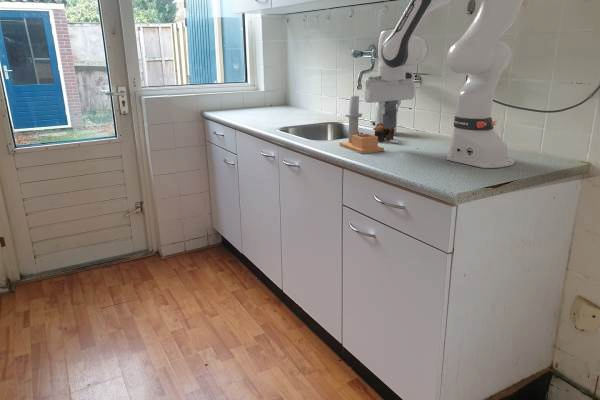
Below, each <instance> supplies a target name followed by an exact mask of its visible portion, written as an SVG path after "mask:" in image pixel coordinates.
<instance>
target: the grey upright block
mask: <svg viewBox="0 0 600 400" xmlns="http://www.w3.org/2000/svg"><path fill="white" fill-rule="evenodd" d="M384 107H385V109H387V114H383V127H385V128H392V127H396V100H393V101H385V105H384ZM396 128H397V127H396Z"/></svg>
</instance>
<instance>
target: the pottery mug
mask: <svg viewBox="0 0 600 400" xmlns="http://www.w3.org/2000/svg"><path fill="white" fill-rule="evenodd" d="M372 131H374V134H373V135H374V136H378V142H380V143H384V142H385V140H386V141H387V142H389V141H390V140H394V136H395V134H394V127H392V128H385V127H383V123H379V124H377V125H376V127H375V126H374V128H373V130H372Z"/></svg>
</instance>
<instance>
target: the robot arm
mask: <svg viewBox="0 0 600 400" xmlns="http://www.w3.org/2000/svg"><path fill="white" fill-rule="evenodd" d="M452 1H453V0H410V2H409V3H408V5H407V6H406V9H405V10H404V12H403V14H402V16H401V17H400V19H399V21H398V22H397V24H396V26H395V27H391V28H386V29H385V30H382V31H381V33H380V35H379V38H378V47H377V49H378V50H377V56H378V66H377V75H375V76H373V75H371V76H369V77H368V78H367V79H366V80H365V89H364V90H365V91H364V101H365V102H366V103H367V104H368V103H371V104H372V103H377V102H379V106H380V108H381V114H387V109H385V107H384V105H385V101H393V100H396V113H397V114H398V112H399V108H400V106H401V103H402V101H405V100H406V101H407V100H413V99H414V98H415V95H416V94H415V93H416V91H415V88H416V86H415V85H416V84H415V81H414V79H415V74H414V73H413V72H410V71H408V70H404V69H403V67H405V66H416V65H419V64H421V63H423V62H424V61H425V59H426V58H427V57H428V51H429V50H428V49H429V48H428V44H427V41H426V40H425V39H424V38H422V37H420V36H416V35H415V32H416V31H417V29H418V28H419V26H420V24H421V22H422V20H423V19H424V18H425V16H426V15H428V14H429V13H430V12H432V11H434V10H435V9H437V8H440V7H442V6H444V5H447V4H449V3H450V2H452ZM523 2H524V0H482V1H481V4H480V6H479V9H478V11H477V14H476V15H475V17H474V19H473V21H472V22H471V24H470V25H469V26H468V28H467V30H466V31H465V33H464V34H463V35H462V36H461V37H460V39H459V40H458V41H456V42H455V43H454V44H452V45H451V46H450V48H449V49H448V51H447V54H446V64H447V66H448V68H449V69H450V71H452V72H453V73H456V74H458V75H463V76H467V80H466V82H465V83H464V85H463V87H461V89H460V90H459V92H458V94H457V102H456V113H455V116H454V117H453V118H454V120H453V127H454V129H453V132H452V137H451V140H450V146H449V149H448V153H447V155H446V160H447V161H450V162H454V163H458V164H459V163H461V164H465V165H470V166H474V167H478V168H482V169H494V168H495V169H498V168H504V167H505V168H506V167H509V166H512V165H514V164H515V160H514V159H511V158H510V157H509V158H508V156H509V155H508V151H509V149H508V145H507V143H506V142H505V141H504V140H503V139H502V138H501V137H500V136H499V134H498V133H497V132H496V130H494V129H495V128H494V126H496V125H497V122H498V121H497V120H494V121H493V119H492V116H491V115H492V108H493V104H494V103H493V101H494V96H495V92H496V88H497V85H498V83H499V81H500V78H501V75H502V73H503V72H504V71H505V69H506V68H507V66H509V64H510V63H511V60H512V55H513V53H512V48H511V47H510V45H509V44H508V43H506V42H504V41H502V40H499V39H500V38H502V36H503V34H504V33H505V32H507V30H508V29H509V30H510V28H511V27H512V26H513V24H514V23H515V21H516V18H517V15H518V14H519V11H520V9H521V6H522V4H523Z"/></svg>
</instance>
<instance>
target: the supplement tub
mask: <svg viewBox="0 0 600 400" xmlns="http://www.w3.org/2000/svg"><path fill="white" fill-rule="evenodd" d="M375 104H376V105H375V122H374V124H375V125H374V128H375V127H376V125H377V124H379V123H383V114H381V108H380V106H379V102H375ZM397 122H398V113H396V127H394V134H393V135H395V134H396V133H397V126H398V125H397V124H398V123H397Z"/></svg>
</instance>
